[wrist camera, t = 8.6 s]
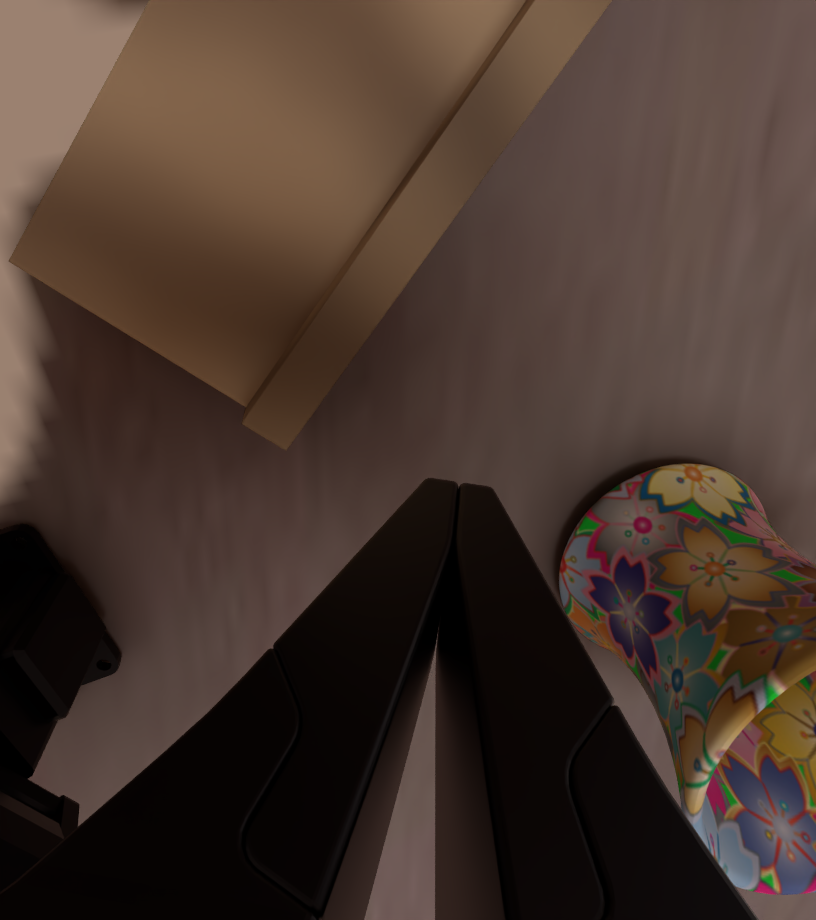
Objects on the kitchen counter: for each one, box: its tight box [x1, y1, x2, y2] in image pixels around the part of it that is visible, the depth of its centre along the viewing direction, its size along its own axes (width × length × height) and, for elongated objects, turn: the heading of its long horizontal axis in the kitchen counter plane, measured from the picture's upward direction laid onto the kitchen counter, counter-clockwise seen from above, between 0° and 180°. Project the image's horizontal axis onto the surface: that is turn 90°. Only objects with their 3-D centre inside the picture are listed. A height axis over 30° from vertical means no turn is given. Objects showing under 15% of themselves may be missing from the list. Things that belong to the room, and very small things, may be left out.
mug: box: [559, 464, 816, 895], centre depth 21 cm, size 12×9×11 cm
